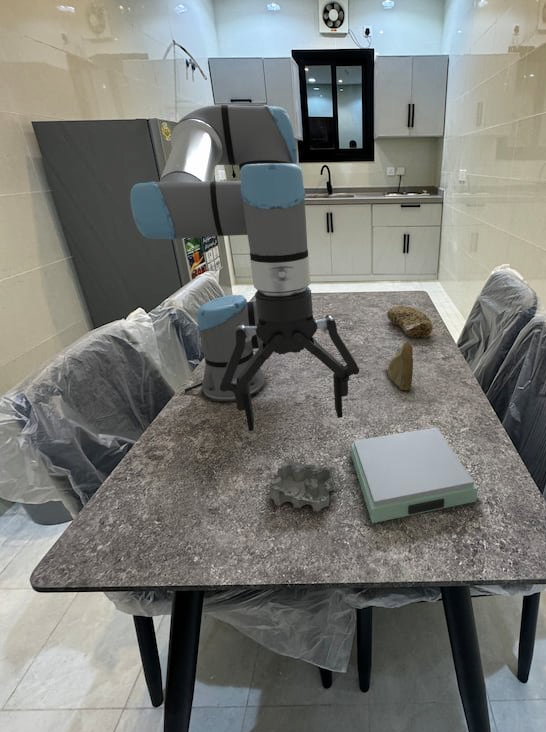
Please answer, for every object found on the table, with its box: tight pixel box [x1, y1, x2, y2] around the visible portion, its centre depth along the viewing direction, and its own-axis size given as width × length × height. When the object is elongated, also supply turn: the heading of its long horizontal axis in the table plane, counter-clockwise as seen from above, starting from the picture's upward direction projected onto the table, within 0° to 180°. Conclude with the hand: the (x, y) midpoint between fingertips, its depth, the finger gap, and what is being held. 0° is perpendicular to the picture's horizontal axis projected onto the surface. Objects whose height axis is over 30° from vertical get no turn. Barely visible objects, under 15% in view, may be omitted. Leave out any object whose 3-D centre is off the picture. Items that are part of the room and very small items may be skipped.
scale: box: [350, 426, 479, 524], centre depth 68 cm, size 18×16×4 cm
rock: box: [386, 341, 414, 391], centre depth 99 cm, size 11×9×10 cm
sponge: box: [386, 305, 434, 339], centre depth 132 cm, size 13×8×20 cm
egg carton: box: [265, 460, 336, 512], centre depth 66 cm, size 11×8×4 cm
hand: (296, 419), depth 60 cm, fingers open, 13 cm apart
